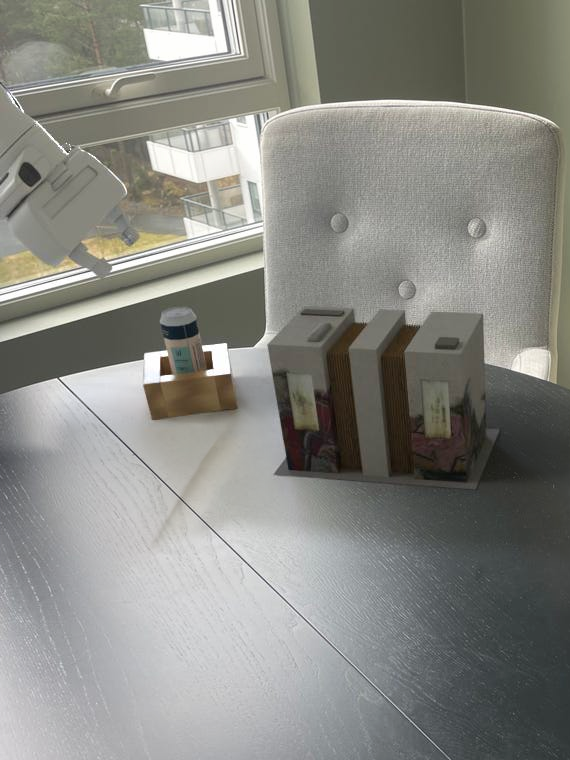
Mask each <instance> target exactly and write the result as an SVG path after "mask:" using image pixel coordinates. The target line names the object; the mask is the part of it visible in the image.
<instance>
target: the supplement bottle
mask: <svg viewBox="0 0 570 760" xmlns="http://www.w3.org/2000/svg"><path fill="white" fill-rule="evenodd" d="M160 315H161V316H160V319H159V324H160V328H161V332H162V336H163V340H164V344H165V348H166V351H167V353H168V358H169V362H170V366H171V370H172V375H173V374H182V373H190V372H198V371H206V370H207V367H206V362H205V357H204V352H203V348H202V346H203V344H202V339H201V334H200V329H199V325H198V319H197V315H196V314H195V312H194V311H193V310H192V308H190V307H188V306H175V307H169V308H167V309H164V310H162V311H161V314H160Z"/></svg>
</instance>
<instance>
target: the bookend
mask: <svg viewBox="0 0 570 760" xmlns="http://www.w3.org/2000/svg"><path fill="white" fill-rule="evenodd" d="M429 312H430V313H429V314H428V316H427V317H426V318H425V320H424V321H423V323H422V324H408V323H407V319H406V310H405V309H384V308H383V309H381V308H380V309H379V310H377V312H376V313H375V314H374V316H373V317H372V318H371V320H370V321H369V322H362V321H356V315H355V314H356V313H355V308H353V307H332V306H331V307H330V306H310V305H309V306H307V305H304V306H303V307H302V308H301V309H300V310H299V311H298V312H297V313H296V314H295V315H294V316H293V317H292V318H291V319H290V320H289V321H288V322H287V323H286V324H285V325H284V326H283V328H281V330H280V331H279V332H278V333H276V335H274V337H272V338H271V340H270V341H269V342H268V343H267V352H268V357H269V358H268V359H269V364H270V369H271V375H272V381H273V386H274V391H275V392H274V394H275V398H276V405H277V411H278V417H279V423H280V429H281V434H282V440H283V447H284V452H285V453H284V454H285V457H284V459H283V461H282V462H281V463H280V464H279V466H278V467H277V469H276V470H275V471H274V472H273V475H274V476H287V477H288V476H289V477H300V478H314V479H327V480H329V479H330V480H340V481H341V480H342V481H353V482H354V481H355V482H368V483H381V484H395V485H409V486H419V487H420V486H421V487H422V486H423V487H434V488H448V489H462V490H472V491H473V490H475V491H476V489H477V487H478V484H479V482H480V480H481V478H482V475H483V473H484V470H485V467H486V465H487V462H488V460H489V458H490V455H491V453H492V450H493V448H494V446H495V444H496V443H495V442H496V441H497V438H498V435H499V433H500V431H501V429H499V428H487V405H486V403H487V402H486V401H487V400H486V368H485V366H486V365H485V333H484V332H485V330H484V313H475V312H474V313H473V312H451V311H450V312H449V311H429Z"/></svg>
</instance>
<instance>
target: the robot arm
mask: <svg viewBox="0 0 570 760" xmlns="http://www.w3.org/2000/svg"><path fill="white" fill-rule="evenodd" d="M127 194H128V191H127V189H126V187H125V185H124V183H123V182H122V181H121V180H120V179H119V178H118V177H117V176H116V175H115V174H114V173H113V172H112V171H111V170H110V169H109V168H108V167H107V166H105V164H103V163H102V162H101V161H100V160H99V159H98V158H96V157H95V156H94V155H92V154H91V153H89V152H87V151H85V150H83V149H82V148H81V147H79V146H78V145H73V144H69V143H68V142H64V143H62V144H61V145H60V144H59V143H58V142H57V141H56V140H55V139H54V138H53V137H52V136H51V134H49V133H48V132H47V131H46V129H45V128H43V126H42V125H40V123H38V121H37V120H36V119H34V118H33V117H32V116H30V115H28V114H26V113H25V112H24V110H23V108H22V106H21V104H20V103H19V101H18V100H17V98H16V97H15V96H14V95H13V94H12V92H11V91H10V90H9V89H8V88H7V87H6V86H5V84H3V82H2V81H1V80H0V222H4V221H5V220H6V225H7V227H8V229H9V230H10V232H11V233H12V234H13V236H14V237H15V238H16V239H17V240H18V241H19V242H20V243H21V244H22V245H23V246H24V247H25V248H26V249H27V250H28V251H29V252H30V253H32V254H33V255H34V257H36V258H37V259H38V260H40V261H41V263H43V264H45V265H48V266H50V267H53V268H57V267H58V266H59V265H61V264H62V263H63V262H64V261H65V260H66V259H67V257H68V258H69V259H70V260H71V261H72V262H73V263H74V264H76V265H78V266H80V267H82V268H84V269H86V270H90V271H91V272H92V273H93V274H95V276H96V277H97V278H99V279H101V280H104V279H105V278H106V277H107V276H108V275H109V274H110V272H111V271H112V270H113V266H112V265H111V263H109V262H108V261H107V259H105V257H104V256H102V257H101V258H99V257H97V256H95V255H94V254H92V253H90V252H88V251H89V248H88V247H87V246H86V245H85V244H84V243H83V241H84V240H85V239H86V238H87V237H88V236H89V234H90V233H91V232H92V231H93V230H94V229H96V227H97V226H98V225H99V224H100V223H101V222H102V221H104V219H106V220H107V221H108V222H109V224H113V225H114V226H115V227H116V229H117V230H118V232H119V234H120V236H119V237H118V238H119V239H120V240H121V241H122V243H124V244H125V246H127V247H130V248H131V247H132V246H134V245H135V243H136V242H137V241H138V240H139V239H140V238H141V235H140V233H139V232H138V231H137V230H136V229H135V228H134V227H133V226H132V223H131V221H130V219H129V217H128V215H127V213H126V210H124V209H123V208H122V207H121V205H120V204H119V203H121V201H122V200H123V199H124V198H125V197H126V196H127Z"/></svg>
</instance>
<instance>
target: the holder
mask: <svg viewBox="0 0 570 760" xmlns="http://www.w3.org/2000/svg"><path fill="white" fill-rule="evenodd" d="M202 348H203V352H204V357H205V362H206V367H207V370H206V371H198V372H190V373H182V374H173V375H172V370H171V366H170V362H169V358H168V353H167V350H161V351H160V350H159V351H150V352H144V355H143V375H142V386H143V390H144V394H145V398H146V402H147V407H148V410H149V415H150V418H151V420H158V419H159V420H160V419H166V418H174V417H182V416H190V415H198V414H206V413H213V412H221V411H228V410H234V409H238V401H237V395H236V387H235V381H234V373H233V368H232V363H231V358H230V355H229V349H228V343H227V342H226V343H217V344H208V345H202Z"/></svg>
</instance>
